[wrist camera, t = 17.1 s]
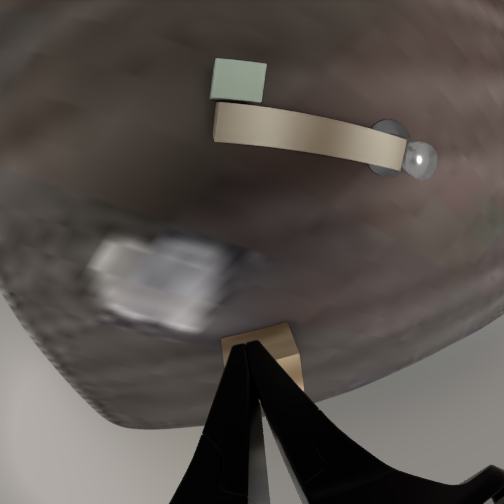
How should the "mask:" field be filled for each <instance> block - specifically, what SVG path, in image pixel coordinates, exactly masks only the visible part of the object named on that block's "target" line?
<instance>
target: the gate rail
mask: <svg viewBox="0 0 504 504" xmlns="http://www.w3.org/2000/svg"><path fill="white" fill-rule="evenodd" d="M213 138H214V142H226V143H237V144H248V145H257V146H266V147H274V148H282V149H289V150H296V151H303V152H310V153H316V154H322V155H328V156H333V157H339V158H344V159H349V160H354V161H359V162H364V163H369V164H373V165H378V166H382V167H386V168H391V169H395V170H399V171H400V169H401V165H402V160H403V156H404V151H405V147H406V142H407V140H406V139H403V138H399V137H396V136H393V135H390V134H387V133H383V132H380V131H376V130H373V129H369V128H365V127H362V126H358V125H354V124H350V123H346V122H342V121H337V120H333V119H329V118H324V117H319V116H314V115H309V114H304V113H299V112H293V111H287V110H281V109H275V108H268V107H260V106H253V105H244V104H235V103H225V102H217V103H216V108H215V117H214V126H213Z"/></svg>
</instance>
